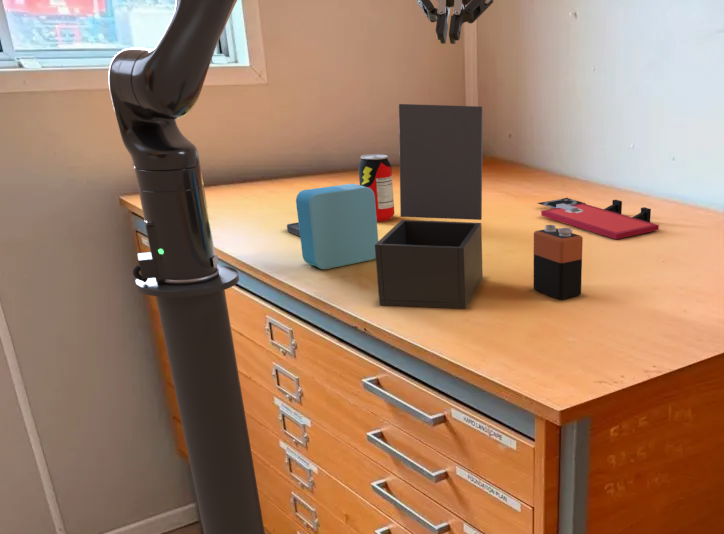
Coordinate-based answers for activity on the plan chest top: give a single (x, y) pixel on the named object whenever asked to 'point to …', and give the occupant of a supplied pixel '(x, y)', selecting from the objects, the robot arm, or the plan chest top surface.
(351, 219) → the data package
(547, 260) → the battery
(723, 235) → the plan chest top surface
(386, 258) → the chest
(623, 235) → the red board with handle
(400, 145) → the lid
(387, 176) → the beverage can
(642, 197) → the plan chest top surface
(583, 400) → the plan chest top surface
